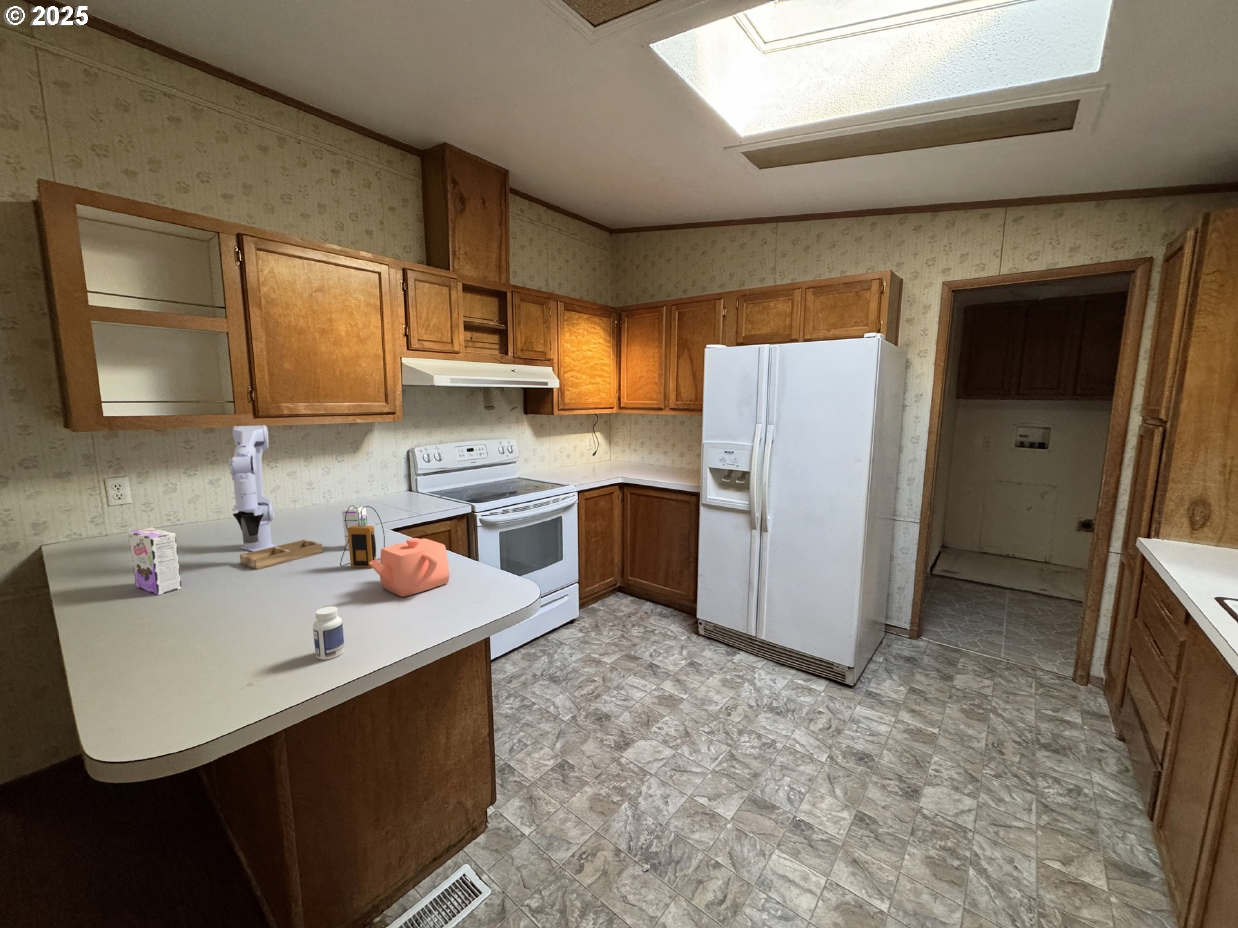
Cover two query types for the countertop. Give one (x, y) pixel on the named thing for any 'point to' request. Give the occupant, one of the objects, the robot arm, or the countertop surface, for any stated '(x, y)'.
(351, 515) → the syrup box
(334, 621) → the pill bottle
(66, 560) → the countertop surface
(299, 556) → the cell tray
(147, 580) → the candy box
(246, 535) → the battery cell
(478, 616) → the countertop surface
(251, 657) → the countertop surface
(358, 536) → the multimeter
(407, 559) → the teapot
